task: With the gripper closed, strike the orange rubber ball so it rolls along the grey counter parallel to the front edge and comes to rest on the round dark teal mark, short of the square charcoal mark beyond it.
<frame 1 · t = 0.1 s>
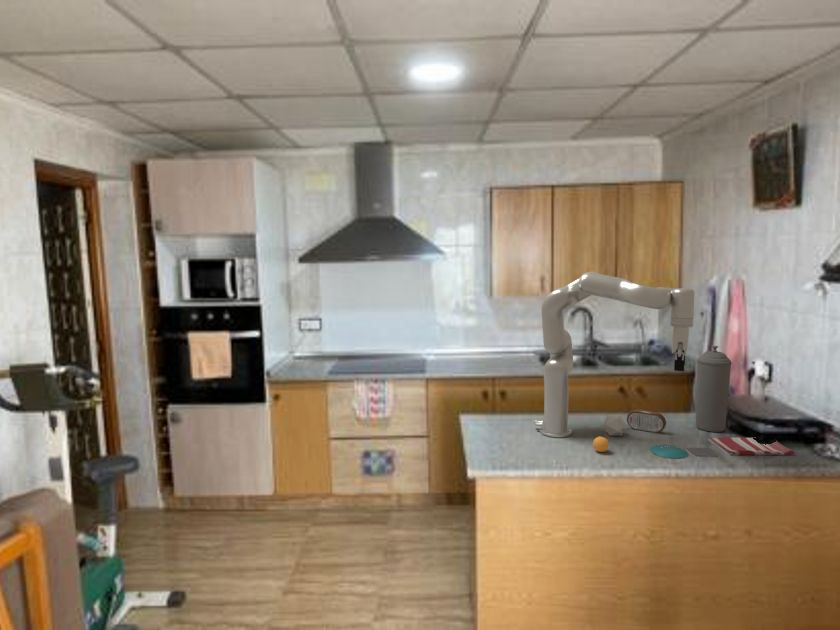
hand: (679, 368, 204), 31 cm above the countertop, fingers open, 9 cm apart
tin: (645, 431, 230), on the countertop
dish towel: (749, 449, 210), on the countertop
die: (614, 434, 226), on the countertop
canister: (710, 428, 231), on the countertop
ball: (600, 444, 207), on the countertop
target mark: (669, 452, 206), on the countertop
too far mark: (702, 452, 205), on the countertop
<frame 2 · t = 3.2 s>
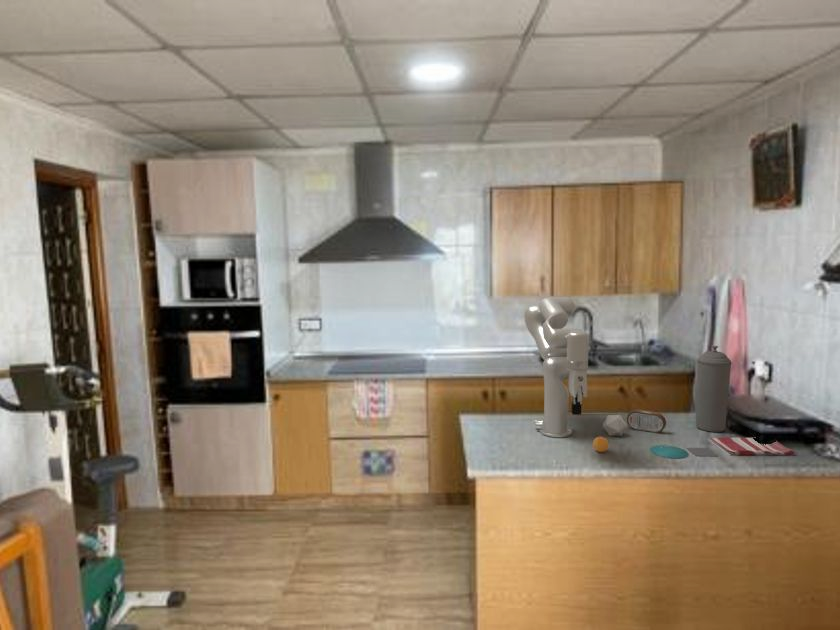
hand: (576, 414, 205), 15 cm above the countertop, fingers closed
nothing on the countertop moved.
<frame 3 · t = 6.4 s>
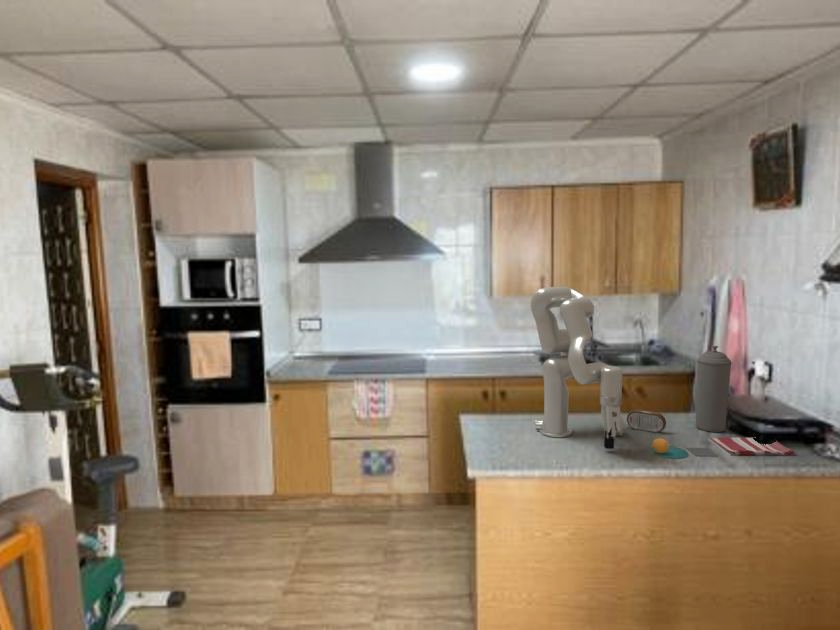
hand: (609, 447, 207), 2 cm above the countertop, fingers closed
ball: (660, 446, 204), on the countertop
everything else where it was.
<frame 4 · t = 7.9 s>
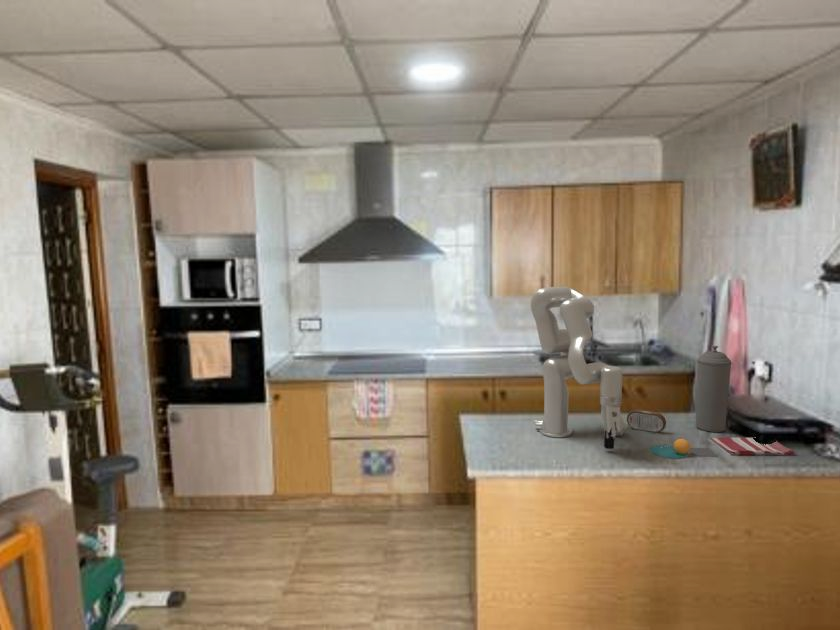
hand: (609, 447, 207), 2 cm above the countertop, fingers closed
ball: (682, 446, 203), on the countertop
everything else where it was.
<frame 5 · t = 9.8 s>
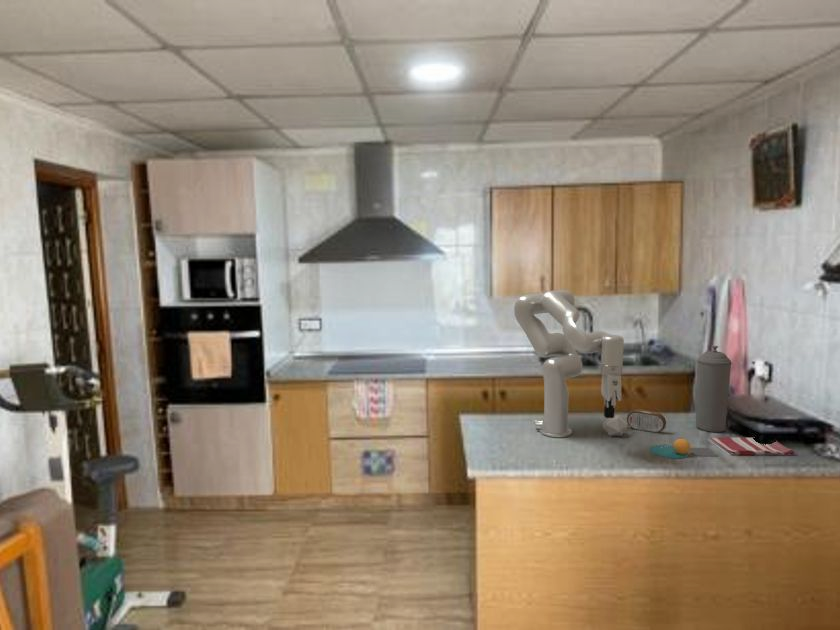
hand: (608, 417, 206), 13 cm above the countertop, fingers closed
nothing on the countertop moved.
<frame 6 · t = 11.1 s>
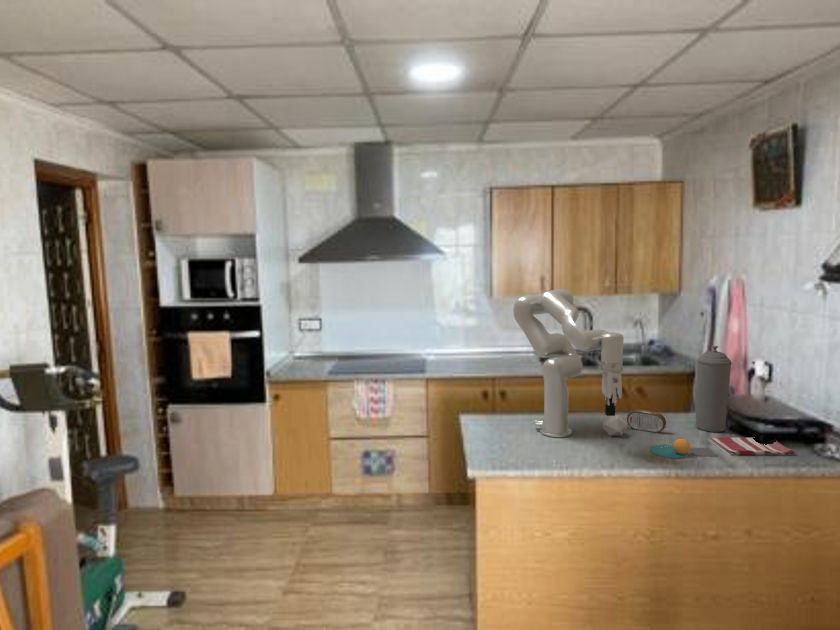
hand: (610, 415, 205), 14 cm above the countertop, fingers closed
nothing on the countertop moved.
at the end: ball 4.3 cm from the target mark (horizontally); ball at rest at the end (0.0 cm/s); ball moved 28.9 cm from its start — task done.
